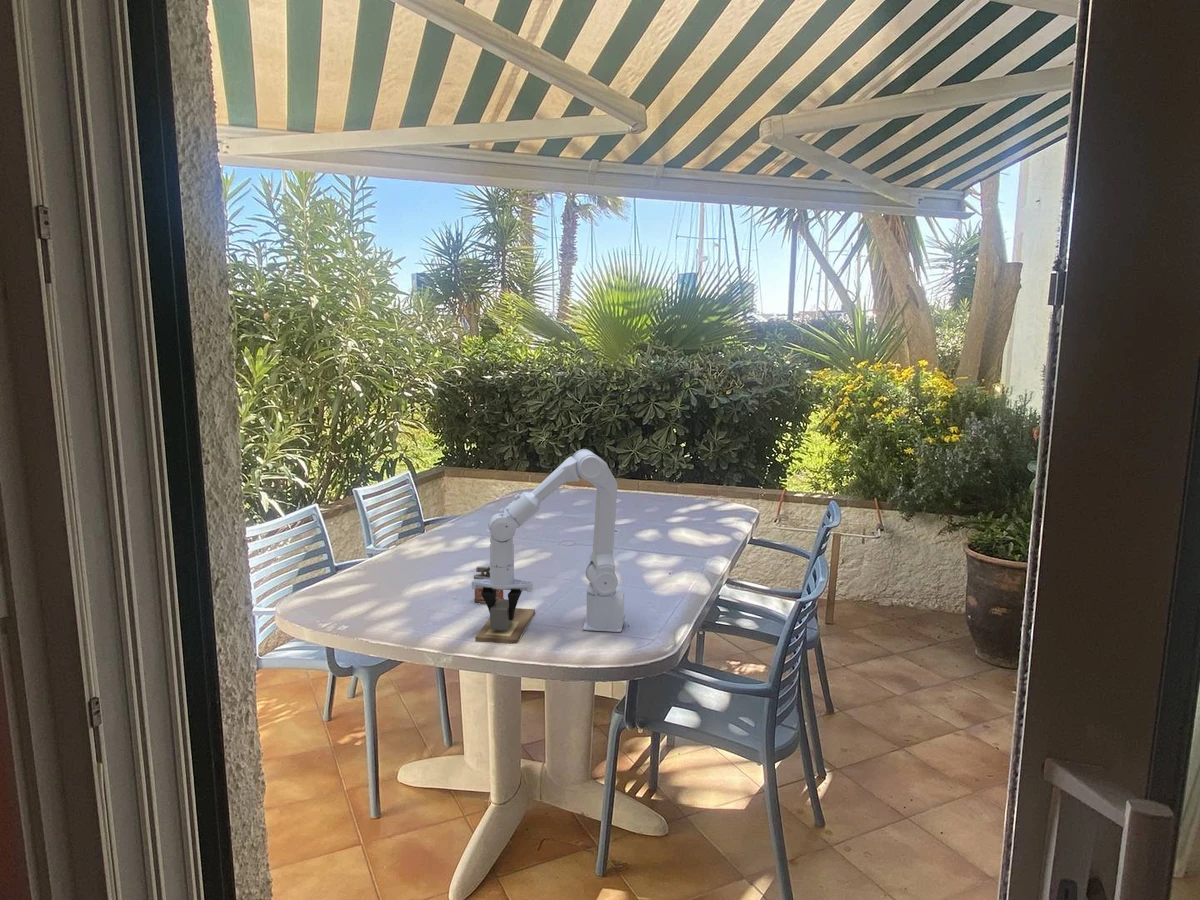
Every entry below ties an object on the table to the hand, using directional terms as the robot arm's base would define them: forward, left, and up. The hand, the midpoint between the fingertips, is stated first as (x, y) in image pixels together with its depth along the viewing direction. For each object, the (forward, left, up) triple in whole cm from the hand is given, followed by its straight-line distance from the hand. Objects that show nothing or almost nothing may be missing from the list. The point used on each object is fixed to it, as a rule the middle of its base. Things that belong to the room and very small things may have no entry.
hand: (502, 618), depth 175 cm
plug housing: (0, 0, -1) cm, 1 cm away
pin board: (0, -4, -4) cm, 5 cm away
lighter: (+9, -20, -4) cm, 22 cm away
